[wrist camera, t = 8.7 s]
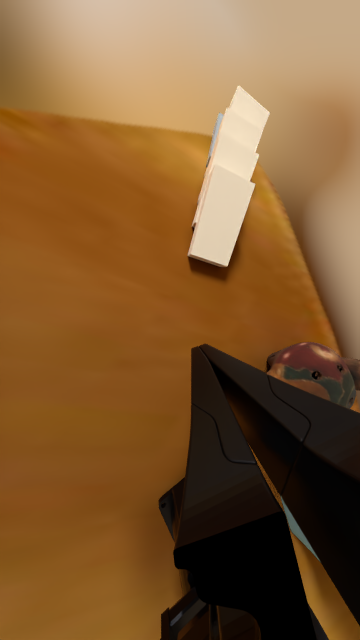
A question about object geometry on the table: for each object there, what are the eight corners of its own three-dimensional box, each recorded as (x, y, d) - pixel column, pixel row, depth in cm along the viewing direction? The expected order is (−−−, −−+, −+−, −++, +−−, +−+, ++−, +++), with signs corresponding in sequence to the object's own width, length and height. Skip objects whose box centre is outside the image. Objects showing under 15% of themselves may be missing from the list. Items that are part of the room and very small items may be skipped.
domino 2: (239, 172, 24) (246, 129, 26) (209, 155, 22) (219, 112, 24) (232, 184, 26) (239, 144, 27) (204, 170, 24) (213, 129, 26)
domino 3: (233, 212, 22) (262, 131, 19) (200, 196, 21) (227, 107, 18) (227, 217, 24) (253, 144, 21) (197, 203, 22) (220, 123, 20)
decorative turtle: (321, 384, 24) (403, 410, 16) (246, 417, 21) (304, 470, 13) (307, 329, 24) (381, 329, 17) (230, 354, 21) (278, 368, 13)
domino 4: (229, 237, 21) (259, 154, 18) (194, 222, 20) (221, 131, 17) (223, 240, 23) (249, 165, 20) (191, 226, 22) (215, 145, 19)
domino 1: (237, 189, 23) (269, 112, 20) (207, 168, 21) (238, 85, 19) (231, 195, 25) (260, 126, 22) (203, 177, 23) (231, 102, 21)
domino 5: (227, 266, 20) (255, 184, 18) (190, 254, 19) (215, 163, 16) (221, 267, 22) (245, 193, 19) (187, 256, 21) (209, 175, 18)
